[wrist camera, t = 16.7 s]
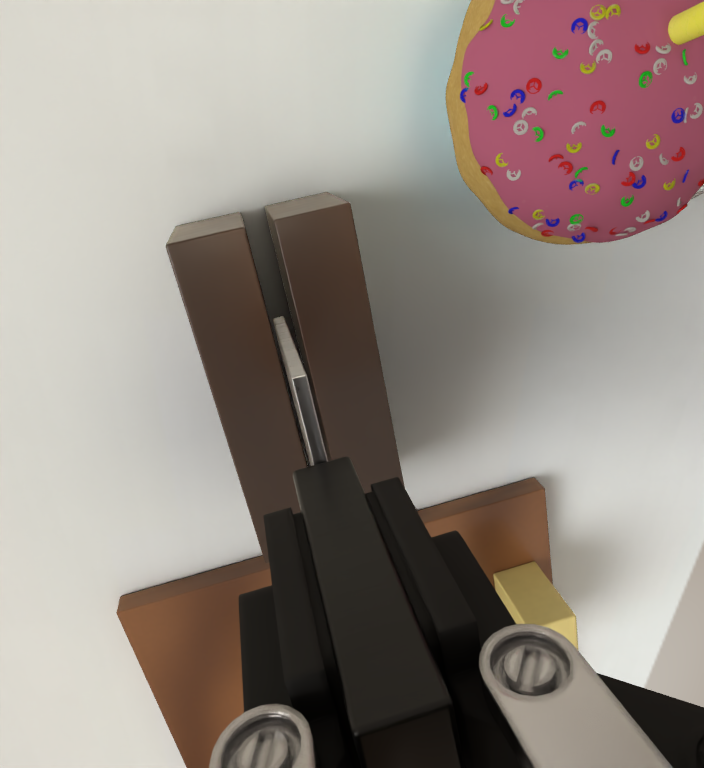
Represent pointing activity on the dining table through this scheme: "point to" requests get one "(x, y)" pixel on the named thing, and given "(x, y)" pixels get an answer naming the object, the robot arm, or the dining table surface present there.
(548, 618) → the butter slice
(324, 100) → the dining table surface
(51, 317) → the dining table surface
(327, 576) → the knife
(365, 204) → the dining table surface
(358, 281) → the knife block
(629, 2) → the cupcake
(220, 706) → the board
